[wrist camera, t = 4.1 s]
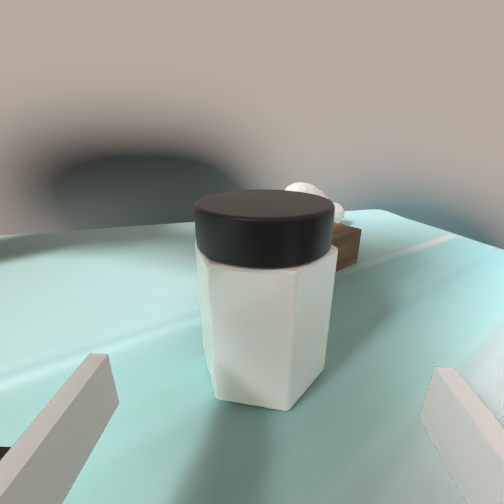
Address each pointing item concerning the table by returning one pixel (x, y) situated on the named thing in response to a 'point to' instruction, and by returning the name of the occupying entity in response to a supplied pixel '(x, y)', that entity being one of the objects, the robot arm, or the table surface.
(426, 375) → the table surface
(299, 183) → the white animal figurine
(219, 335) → the jar
